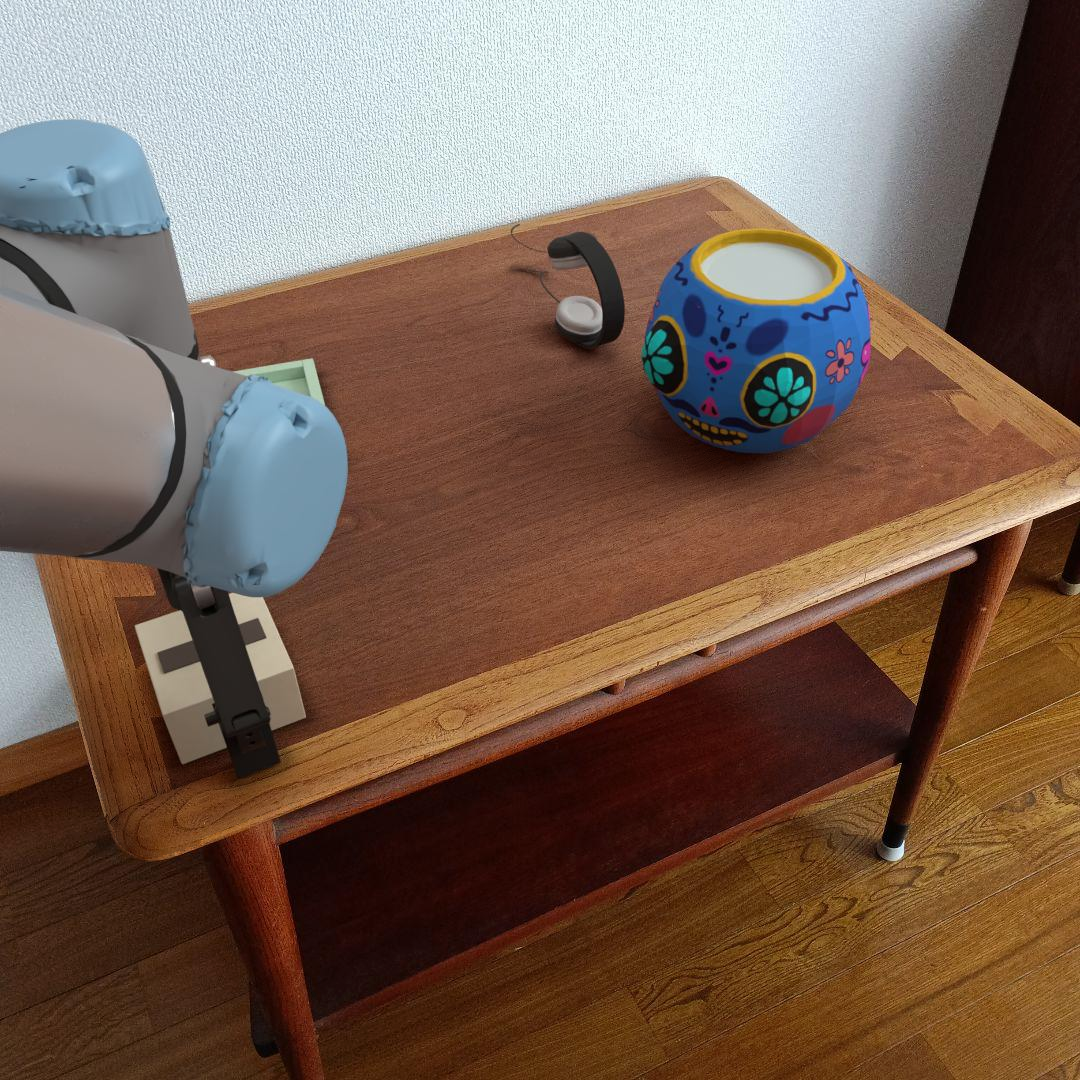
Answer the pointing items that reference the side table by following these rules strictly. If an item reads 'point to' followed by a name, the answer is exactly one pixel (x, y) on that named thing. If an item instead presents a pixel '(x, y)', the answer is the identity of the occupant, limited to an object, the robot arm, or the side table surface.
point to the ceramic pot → (757, 340)
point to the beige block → (187, 686)
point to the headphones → (580, 313)
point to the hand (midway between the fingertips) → (230, 692)
